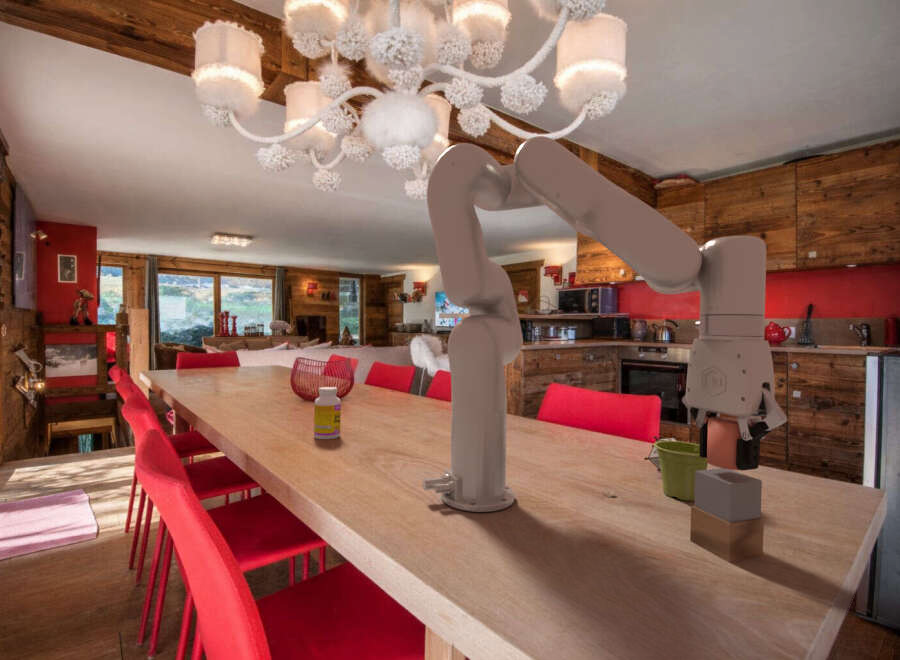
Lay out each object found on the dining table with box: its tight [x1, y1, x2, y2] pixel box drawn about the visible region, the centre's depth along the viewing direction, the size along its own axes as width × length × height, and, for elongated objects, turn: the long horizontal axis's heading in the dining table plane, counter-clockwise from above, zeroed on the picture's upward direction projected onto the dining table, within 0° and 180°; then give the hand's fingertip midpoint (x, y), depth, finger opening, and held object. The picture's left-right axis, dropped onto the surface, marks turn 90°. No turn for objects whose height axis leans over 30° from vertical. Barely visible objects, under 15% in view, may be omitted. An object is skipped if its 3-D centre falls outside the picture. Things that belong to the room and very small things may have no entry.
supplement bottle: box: [313, 386, 342, 440], centre depth 118 cm, size 7×7×13 cm
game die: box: [643, 434, 683, 472], centre depth 91 cm, size 9×8×10 cm
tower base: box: [689, 505, 765, 563], centre depth 61 cm, size 6×6×5 cm
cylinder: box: [707, 416, 752, 471], centre depth 61 cm, size 5×5×6 cm
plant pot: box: [653, 440, 709, 502], centre depth 81 cm, size 9×9×9 cm
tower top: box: [693, 467, 763, 523], centre depth 61 cm, size 6×6×5 cm
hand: (727, 461), depth 61 cm, fingers closed on cylinder, 5 cm apart
